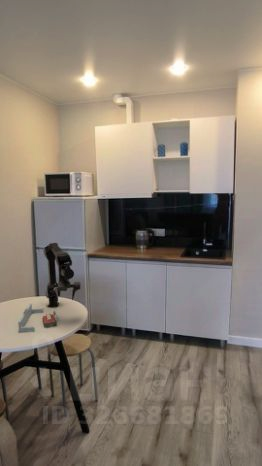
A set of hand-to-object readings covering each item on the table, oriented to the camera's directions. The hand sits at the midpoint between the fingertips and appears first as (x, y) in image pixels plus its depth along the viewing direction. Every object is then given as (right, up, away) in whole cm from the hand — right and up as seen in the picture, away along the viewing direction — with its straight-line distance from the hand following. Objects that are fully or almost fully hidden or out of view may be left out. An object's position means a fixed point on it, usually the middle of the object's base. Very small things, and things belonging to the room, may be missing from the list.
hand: (65, 300), depth 186 cm
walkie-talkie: (-9, -13, +1) cm, 16 cm away
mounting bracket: (-19, -13, +1) cm, 23 cm away
